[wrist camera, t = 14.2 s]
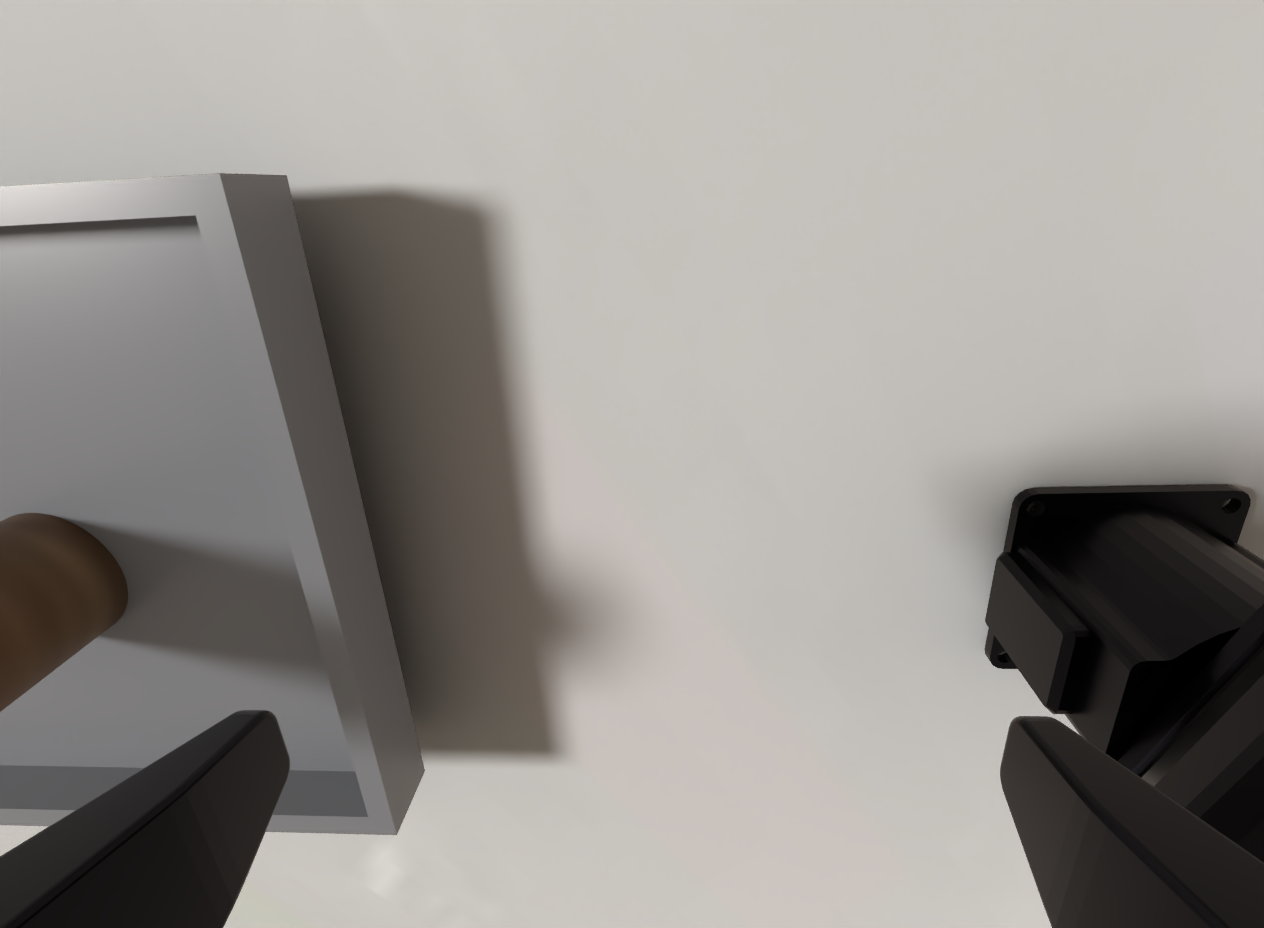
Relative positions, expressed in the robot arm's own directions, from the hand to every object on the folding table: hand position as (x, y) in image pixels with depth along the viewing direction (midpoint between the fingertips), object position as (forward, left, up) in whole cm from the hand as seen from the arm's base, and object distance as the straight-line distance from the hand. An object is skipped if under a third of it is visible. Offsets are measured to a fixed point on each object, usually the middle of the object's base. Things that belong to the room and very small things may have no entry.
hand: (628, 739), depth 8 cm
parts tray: (+19, +3, -13) cm, 23 cm away
